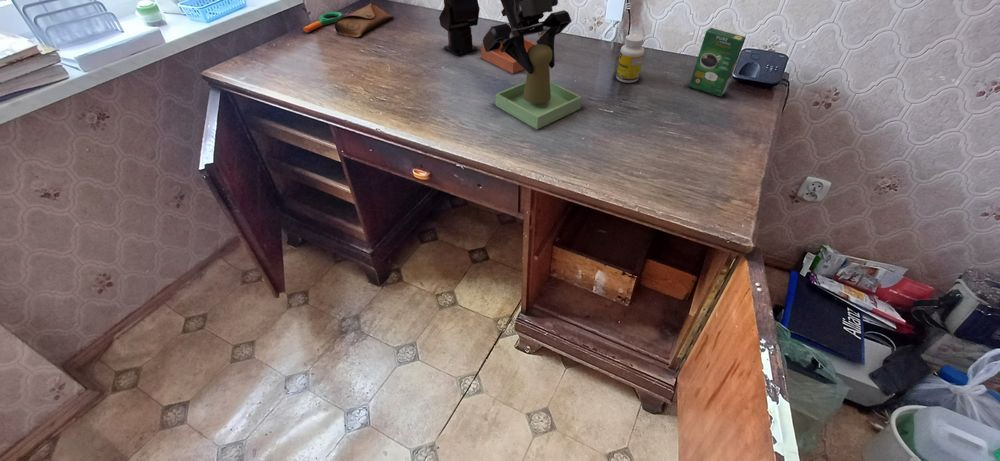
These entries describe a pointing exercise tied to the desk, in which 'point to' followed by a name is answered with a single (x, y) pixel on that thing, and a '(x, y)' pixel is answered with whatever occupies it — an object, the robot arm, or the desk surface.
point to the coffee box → (716, 61)
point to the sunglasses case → (361, 21)
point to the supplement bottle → (630, 59)
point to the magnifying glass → (323, 21)
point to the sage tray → (538, 105)
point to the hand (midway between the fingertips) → (542, 70)
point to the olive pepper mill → (538, 75)
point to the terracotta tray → (505, 58)
